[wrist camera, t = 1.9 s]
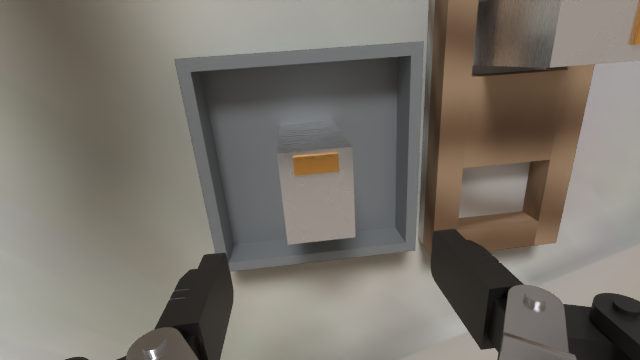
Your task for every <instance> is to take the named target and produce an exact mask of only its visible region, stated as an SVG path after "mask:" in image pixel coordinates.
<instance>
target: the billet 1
mask: <svg viewBox="0 0 640 360" xmlns="http://www.w3.org/2000/svg"><path fill="white" fill-rule="evenodd" d="M277 159H278V168H279V176H280V184H281V193H282V201H283V209H284V218H285V226H286V235H287V243H288V245H290V244H299V243H308V242H317V241H326V240H335V239H344V238H353V237H356V235H355V206H354V176H353V147H352V145H351V144H350V143H349V141H348V140H347V139H346V138H345V136H344V135H343V134H342V132H341V131H340V130H339V128H338V127H337V126H336V124H335V123H334V122H333V121H322V122H311V123H299V124H288V125H280V130H279V139H278V148H277Z"/></svg>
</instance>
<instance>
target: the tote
mask: <svg viewBox="0 0 640 360" xmlns="http://www.w3.org/2000/svg"><path fill="white" fill-rule="evenodd" d="M423 47H424V41H422V42H408V43H394V44H380V45H366V46H352V47H338V48H323V49H309V50H295V51H281V52H267V53H253V54H239V55H225V56H211V57H197V58H182V59H174V60H175V65H176V69H177V74H178V79H179V83H180V88H181V93H182V98H183V102H184V107H185V112H186V116H187V121H188V126H189V131H190V135H191V140H192V145H193V149H194V154H195V159H196V164H197V168H198V173H199V178H200V182H201V187H202V192H203V197H204V201H205V206H206V211H207V215H208V220H209V225H210V230H211V234H212V239H213V244H214V248H215V253H226V255H227V259H228V264H229V269H230V272H231V271H240V270H249V269H258V268H266V267H275V266H284V265H293V264H301V263H310V262H319V261H328V260H336V259H345V258H354V257H363V256H371V255H380V254H389V253H398V252H407V251H415V242H416V217H417V193H418V169H419V144H420V120H421V95H422V71H423ZM322 121H333V122H334V123H335V124H336V126H337V127H338V128H339V130H340V131H341V132H342V134H343V135H344V136H345V138H346V139H347V140H348V141H349V143H350V144H351V145H352V147H353V176H354V206H355V235H356V237H353V238H344V239H335V240H326V241H317V242H308V243H299V244H290V245H288V243H287V235H286V226H285V218H284V209H283V201H282V193H281V184H280V176H279V168H278V159H277V148H278V139H279V130H280V125H288V124H299V123H311V122H322Z"/></svg>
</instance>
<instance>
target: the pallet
mask: <svg viewBox="0 0 640 360" xmlns="http://www.w3.org/2000/svg"><path fill="white" fill-rule="evenodd" d="M484 1H487V0H429V17H428V39H427V62H426V84H425V107H424V129H423V151H422V174H421V196H420V219H419V240H420V241H421V243H422V244H423V246H424V247H425V248H426V250H427V251H428V252H429V254H430V255H431V251H432V236H433V232H434V231H437V230H446V229H456V230H457V231H458V232H459V233H460V234H461V235H462V236H463V237H464V238H465V239H466V240H472V241H473V242H475V243H477V244H479V245H481V246H483V247H484V248H485V249H486V250H487V251H490V250H499V249H508V248H516V247H525V246H534V245H542V244H551V243H556V241H557V236H558V231H559V227H560V222H561V218H562V213H563V208H564V204H565V199H566V195H567V190H568V185H569V181H570V176H571V172H572V167H573V162H574V158H575V153H576V148H577V144H578V139H579V135H580V130H581V125H582V121H583V116H584V112H585V107H586V102H587V98H588V93H589V89H590V84H591V79H592V75H593V70H594V66H595V64H589V65H577V66H564V67H551V68H545V67H506V66H473V55H474V45H475V34H476V23H477V12H478V3H481V2H484Z"/></svg>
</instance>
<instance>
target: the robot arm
mask: <svg viewBox="0 0 640 360" xmlns="http://www.w3.org/2000/svg"><path fill="white" fill-rule="evenodd" d="M431 272H432V276H433V278H434V280H435V282H436V284H437V285H438V287H439V288H440V290H441V291H442V292H443V294H444V295H445V297H446V298H447V300H448V301H449V303H450V304H451V306H452V307H453V309H454V310H455V312H456V313H457V315H458V316H459V318H460V319H461V321H462V322H463V324H464V325H465V327H466V328H467V330H468V331H469V333H470V334H471V335H472V337H473V338H474V340H475V341H476V343H477V344H478V346H479V347H480V349H481V350H482V349H490V348H496V350H497V351H498V352H499V353H498V359H497V360H640V302H639V301H637V300H635V299H632V298H630V297H627V296H623V295H619V294H613V293H602V294H598V295H596V296H595V297H594V300H593V303H592V307H585V306H576V305H567V304H563V303H562V302H561V300H560V299H559V298H557V297H556V296H555V295H554V294H552V293H550V292H549V291H547V290H545V289H542V288H539V287H536V286H531V285H524V284H523V283H522V282H520V281H519V280H518V279H517V278H516V277H515V276H514V275H513V274H512V273H511V272H510V271H509V270H508V269H507V268H505V267H504V266H503V265H502V264H501V263H499V261H498V260H497V259H496V258H495V257H494V256H492V254H491V253H489V252H488V251H487V250H486V249H485V248H484V247H483V246H481V245H479V244H477V243H475V242H473V241H472V240H466V239H465V238H464V237H463V236H462V235H461V234H460V233H459V232H458V231H457V230H456V229H446V230H437V231H434V232H433V236H432V251H431ZM232 305H233V285H232V280H231V275H230V269H229V264H228V259H227V255H226V253H216V254H206V255H204V256H203V258H202V260H201V263H200V265H199V267H198V269H192V270H189V271H188V272H187V273H186V274H185V275H184V276H183V277H182V278H181V279H180V280H179V282H178V284H177V286H176V288H175V291H174V292H173V294H172V296H171V298H170V300H169V302H168V304H167V306H166V308H165V309H164V311H163V313H162V315H161V317H160V319H159V321H158V323H157V325H156V327H155V329H154V330H152V331H150V332H148V333H146V334H145V335H143V336H141V337H140V338H139V339H138V340H136V341H135V342H134V343H133V344H132V346H131V347H130V348H129V350H128V352H127V355H126V356H125V357H122V358H120V359H117V360H220V357H221V352H222V348H223V344H224V339H225V335H226V331H227V327H228V322H229V318H230V314H231V309H232ZM66 360H88V359H87V358H84V357H73V358H69V359H66Z"/></svg>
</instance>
